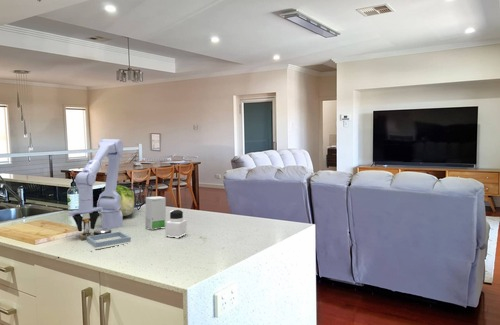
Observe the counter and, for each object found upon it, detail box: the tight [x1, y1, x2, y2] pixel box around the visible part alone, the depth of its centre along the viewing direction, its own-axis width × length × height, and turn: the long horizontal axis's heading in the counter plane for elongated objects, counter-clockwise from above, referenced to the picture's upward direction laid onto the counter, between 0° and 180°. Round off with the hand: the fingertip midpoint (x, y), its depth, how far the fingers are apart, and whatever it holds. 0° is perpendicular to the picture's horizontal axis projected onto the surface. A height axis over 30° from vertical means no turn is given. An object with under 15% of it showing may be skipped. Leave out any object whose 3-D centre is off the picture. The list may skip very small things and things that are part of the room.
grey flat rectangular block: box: [75, 228, 112, 242], centre depth 173 cm, size 14×10×3 cm
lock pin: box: [82, 217, 90, 236], centre depth 170 cm, size 3×3×8 cm
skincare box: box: [144, 195, 167, 230], centre depth 192 cm, size 8×7×16 cm
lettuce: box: [102, 184, 136, 218], centre depth 218 cm, size 18×23×19 cm
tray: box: [86, 231, 132, 251], centre depth 165 cm, size 15×12×3 cm
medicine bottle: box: [165, 209, 187, 236], centre depth 179 cm, size 7×7×12 cm
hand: (86, 229), depth 171 cm, fingers open, 5 cm apart
